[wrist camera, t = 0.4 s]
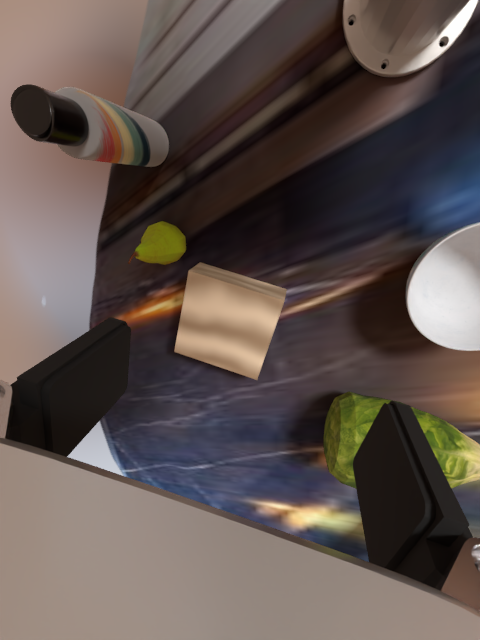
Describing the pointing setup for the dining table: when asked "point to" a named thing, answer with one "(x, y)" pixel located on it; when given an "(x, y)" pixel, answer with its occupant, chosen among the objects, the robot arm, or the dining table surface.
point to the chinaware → (448, 290)
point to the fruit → (161, 244)
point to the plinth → (228, 319)
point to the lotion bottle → (89, 126)
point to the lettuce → (355, 421)
